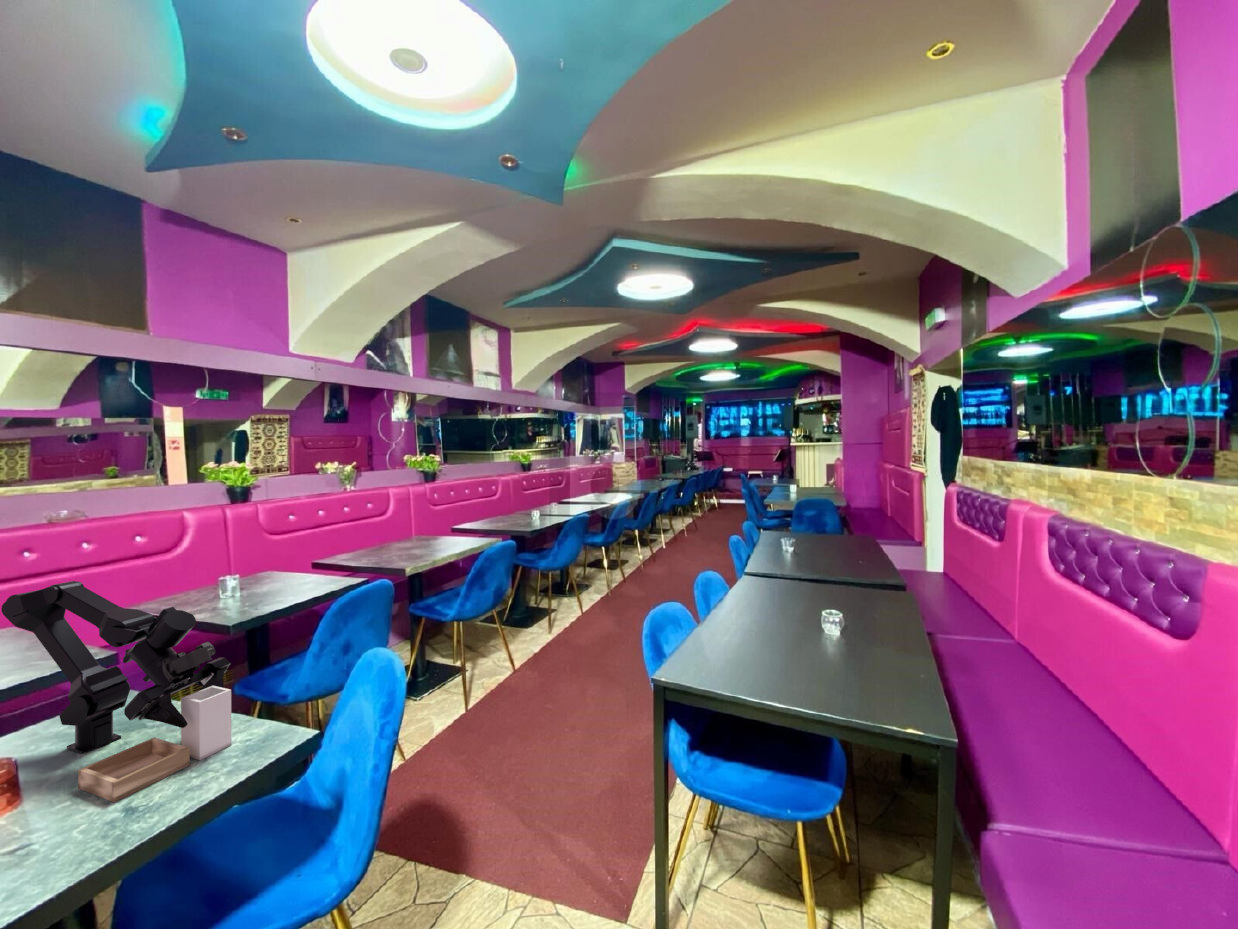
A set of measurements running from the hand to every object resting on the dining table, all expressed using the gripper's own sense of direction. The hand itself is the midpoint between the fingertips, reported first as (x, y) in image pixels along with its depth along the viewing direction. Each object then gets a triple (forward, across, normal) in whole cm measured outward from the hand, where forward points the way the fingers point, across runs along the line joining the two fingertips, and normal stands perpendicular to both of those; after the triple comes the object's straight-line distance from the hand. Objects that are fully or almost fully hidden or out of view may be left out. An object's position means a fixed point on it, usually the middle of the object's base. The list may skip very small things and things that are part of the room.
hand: (206, 714), depth 104 cm
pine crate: (+1, -10, +9) cm, 13 cm away
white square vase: (+5, 0, +5) cm, 7 cm away
